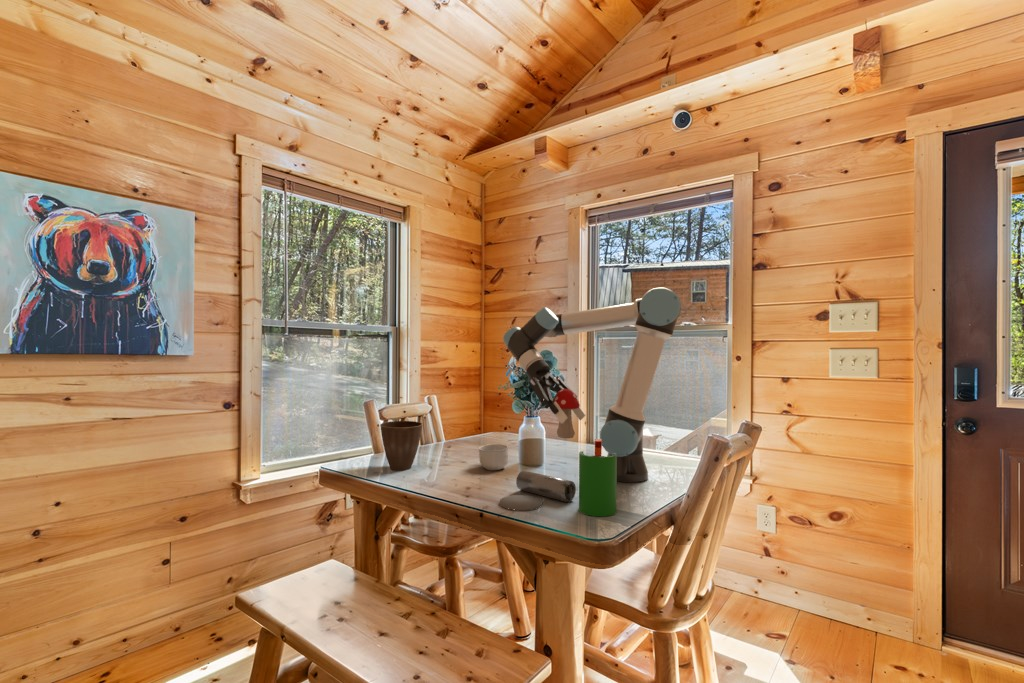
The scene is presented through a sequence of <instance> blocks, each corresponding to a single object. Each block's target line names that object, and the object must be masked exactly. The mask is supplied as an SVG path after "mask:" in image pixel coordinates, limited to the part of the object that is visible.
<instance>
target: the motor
mask: <svg viewBox="0 0 1024 683" xmlns="http://www.w3.org/2000/svg"><path fill="white" fill-rule="evenodd" d="M602 450H603V446H602V439H600V438H599V439H597V438H596V439H595V438H594V455H588V454H585V453H584V451H582V450H581V451H579V453H578V458H579V459H578V462H579V463H578V511H579V512H580V513H581V512H582V514H583V513H584V514H583V515H587V516H592V517H610V516H613V515H615V514H616V513H617V494H618V493H617V488H618V487H617V482H618V481H617V454H616V453H613V455H612V456H607V455H602Z"/></svg>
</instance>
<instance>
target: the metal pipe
mask: <svg viewBox="0 0 1024 683" xmlns="http://www.w3.org/2000/svg"><path fill="white" fill-rule="evenodd" d="M516 487H517V489H519V491H524V492H526V493H531V494H534V495H538V496H543V497H546V498H549V499H550V498H551V499H553V500H557V501H561V502H564V503H571V502H572V501H573V500H574V499H575V496H576V493H577V492H576V491H577V490H576V489H577V488H576V484H575V482H574V481H571V480H568V479H563V478H559V477H554V476H551V475H547V474H543V473H542V474H541V473H537V472H534V471H533V472H532V471H529V470H521V471H519V473H518V474H517V477H516Z"/></svg>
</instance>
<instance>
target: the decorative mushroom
mask: <svg viewBox="0 0 1024 683" xmlns="http://www.w3.org/2000/svg"><path fill="white" fill-rule="evenodd" d="M571 390H572V389H571ZM571 390H569V389H562V390H560V391H558V392H557V393H556V394H555V396H554V398H553V403H554V402H557V404H558V405H559V406H560V408H561V409H562V410H563V412H564V413H565V415H566V416H567V417H568V419H567V420H566V421H565V422H564V423H563V424H561V423H560V421H559V420H558V421H559V422H558V426H557V431H556V434H557V437H558V438H561V439H573V438H574V436H575V430H574V427H573V420H572V418H573V417H572V411H573V409H577V408H579V406H580V407H581V404H580V401H579V399H578V397H577V398H576V396H575V394H576V393H575V392H574V391H573V390H572V391H573V392H574V393H575V394H574V393H573V392H572V391H571Z"/></svg>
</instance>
